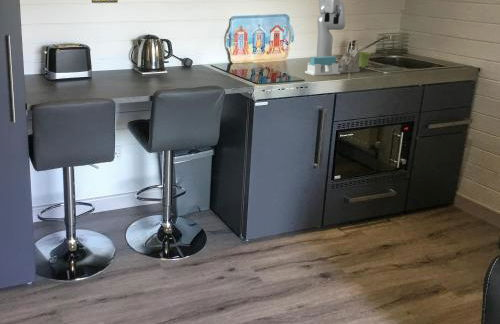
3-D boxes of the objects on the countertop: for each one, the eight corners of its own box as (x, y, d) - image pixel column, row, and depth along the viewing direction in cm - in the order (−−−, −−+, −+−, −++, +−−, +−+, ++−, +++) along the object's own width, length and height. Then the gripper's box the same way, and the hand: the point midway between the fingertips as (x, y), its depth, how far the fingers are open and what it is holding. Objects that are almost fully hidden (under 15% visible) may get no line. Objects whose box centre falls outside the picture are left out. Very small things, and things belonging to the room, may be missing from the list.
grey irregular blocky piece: (350, 67, 361) (351, 43, 356) (364, 72, 347) (365, 47, 341) (328, 69, 356) (329, 45, 350) (341, 75, 342) (343, 50, 336)
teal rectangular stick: (310, 64, 336) (310, 57, 334) (331, 63, 342) (332, 56, 340) (313, 65, 332) (314, 58, 331) (335, 64, 338) (336, 57, 337)
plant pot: (351, 65, 368) (352, 52, 365) (364, 65, 371) (365, 51, 368) (359, 68, 360) (360, 54, 357) (372, 67, 363) (373, 53, 360)
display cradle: (304, 72, 339) (305, 62, 337) (330, 71, 347) (331, 61, 345) (313, 75, 331) (314, 65, 329) (340, 73, 338) (340, 63, 336)
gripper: (320, -9, 336) (318, 21, 342) (336, -7, 321) (333, 25, 328) (331, -9, 339) (328, 20, 345) (347, -7, 324) (344, 24, 330)
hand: (331, 22), depth 336 cm, fingers open, 9 cm apart
